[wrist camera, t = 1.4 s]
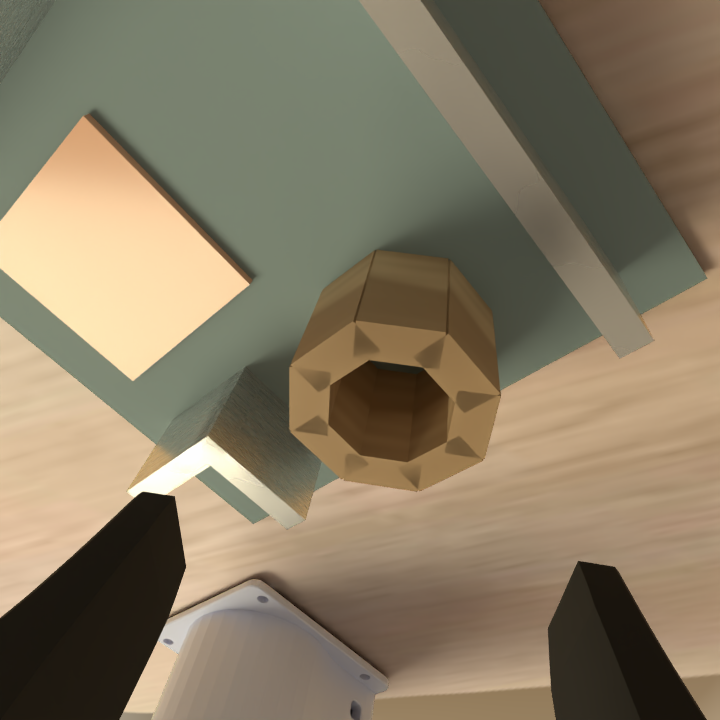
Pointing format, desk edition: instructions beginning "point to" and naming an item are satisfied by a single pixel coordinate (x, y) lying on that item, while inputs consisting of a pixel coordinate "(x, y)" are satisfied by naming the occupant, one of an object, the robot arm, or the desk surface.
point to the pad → (114, 252)
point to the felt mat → (323, 177)
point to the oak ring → (396, 373)
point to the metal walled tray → (505, 171)
